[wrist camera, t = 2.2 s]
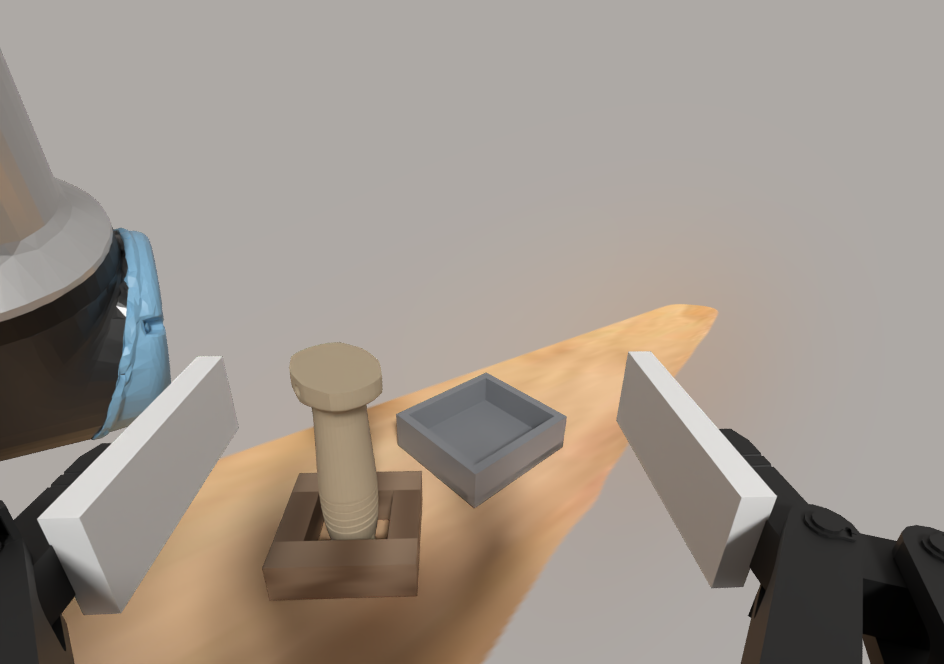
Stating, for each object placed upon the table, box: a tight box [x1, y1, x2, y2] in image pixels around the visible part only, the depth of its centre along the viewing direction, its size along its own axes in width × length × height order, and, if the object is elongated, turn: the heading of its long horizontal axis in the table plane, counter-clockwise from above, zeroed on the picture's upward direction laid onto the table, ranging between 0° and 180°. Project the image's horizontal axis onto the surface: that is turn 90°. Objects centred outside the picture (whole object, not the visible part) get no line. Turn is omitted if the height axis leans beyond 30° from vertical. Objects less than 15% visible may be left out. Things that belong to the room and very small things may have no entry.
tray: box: [396, 373, 567, 508], centre depth 45 cm, size 12×11×4 cm
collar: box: [262, 471, 422, 600], centre depth 35 cm, size 10×8×3 cm
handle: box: [289, 342, 382, 540], centre depth 32 cm, size 5×6×15 cm
